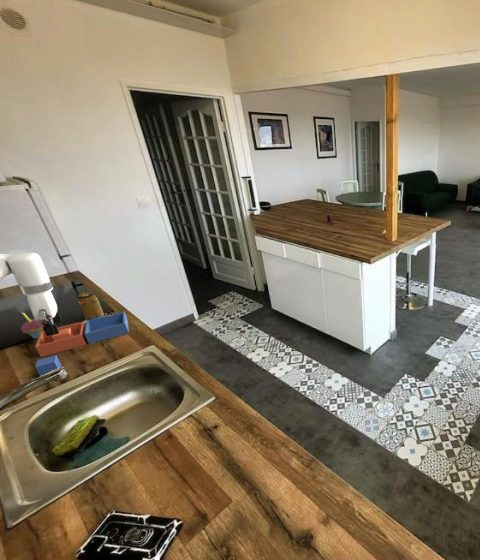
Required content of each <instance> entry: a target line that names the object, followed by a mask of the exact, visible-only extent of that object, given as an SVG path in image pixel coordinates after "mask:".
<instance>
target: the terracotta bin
mask: <svg viewBox="0 0 480 560" xmlns="http://www.w3.org/2000/svg"><path fill="white" fill-rule="evenodd" d="M84 321H85V320H83V321H80V322H74V323H72V324H67V325H63V326H59V327H57V329H58V330H62V329H66V328H70V329H71V331H72V333H73V335H74V336H73V337H69V338H65V339H62V340H58V341H54V340H53V338H52V336H53V335H50V336H46V334H45V332H44V331H42V332H41V333H40V336H39V338H37V341H36V344H35V349H36V351H37V353H38V355H39V356H40V358H42V357H43V358H44V357H46V356H49V355H55V354H58V353H62V352H64V351H69V350H72V349H75V348H79V347H83V346H86V345H87V343H88V341H87V339H86V337H85V327H86V323H84Z"/></svg>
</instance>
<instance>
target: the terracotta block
mask: <svg viewBox="0 0 480 560" xmlns="http://www.w3.org/2000/svg"><path fill="white" fill-rule="evenodd" d="M58 331H59V333H58V334H55V335H53V336H52V338H53V340H54V341H58V340H62V339H65V338H69V337H73V336H74V335H73V333H72V331H71V329H70V328H66V329H62V330H58Z"/></svg>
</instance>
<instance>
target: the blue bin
mask: <svg viewBox="0 0 480 560" xmlns="http://www.w3.org/2000/svg"><path fill="white" fill-rule="evenodd" d="M85 325H86V327H85V337H86V339H87V343H88V344H89V345H90V344H94V343H97V342H102V341H105V340H108V339H111V338H116V337H119V336H123V335H126V334H129V333H130V330H129V320H128V317H127V314H126V312H125V311H121V312H117V313H113V314H112V315H108V316H104V317H100V318H96V319H92V320H88V321H86V323H85Z"/></svg>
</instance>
